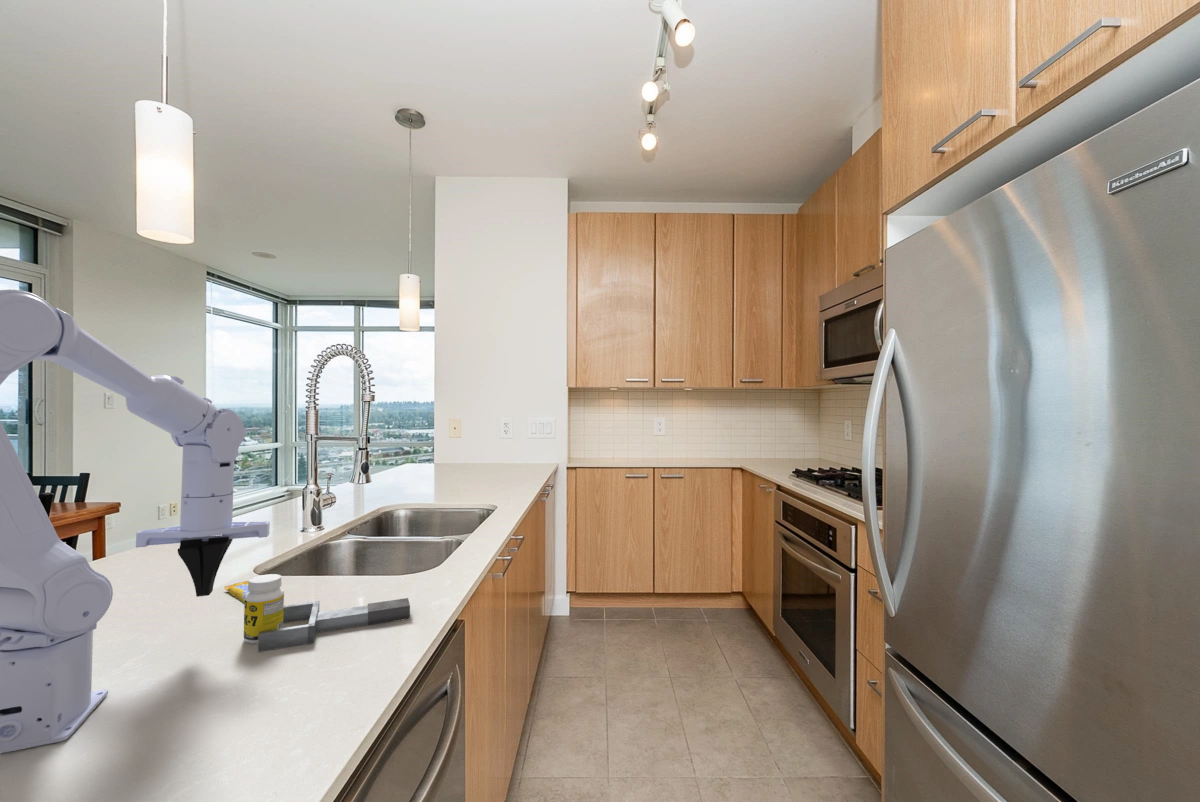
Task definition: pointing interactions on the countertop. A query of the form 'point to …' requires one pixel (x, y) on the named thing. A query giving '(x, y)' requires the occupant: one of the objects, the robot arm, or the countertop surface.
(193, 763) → the countertop surface
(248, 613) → the supplement bottle
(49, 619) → the robot arm
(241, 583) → the candy bar
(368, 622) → the open-end wrench
